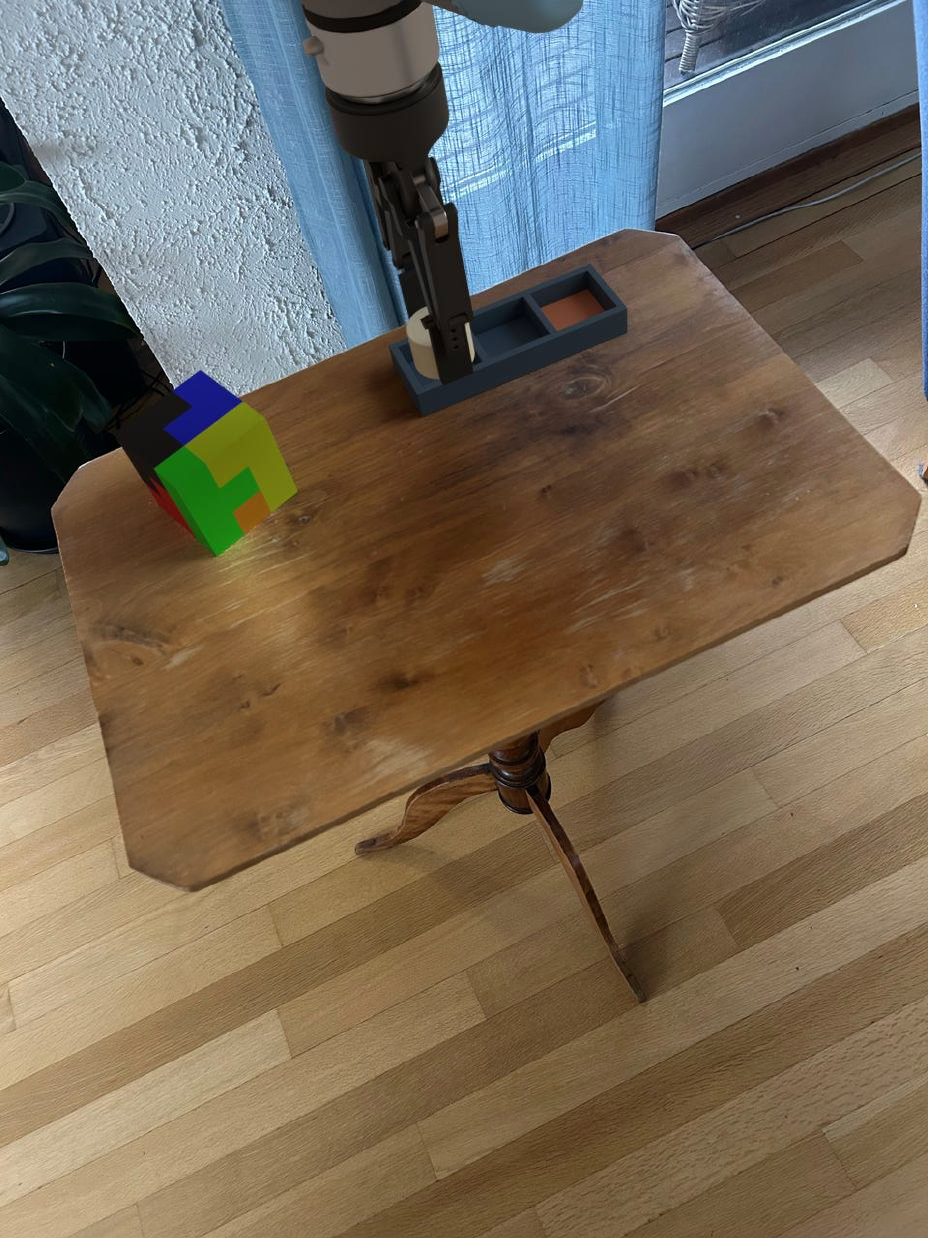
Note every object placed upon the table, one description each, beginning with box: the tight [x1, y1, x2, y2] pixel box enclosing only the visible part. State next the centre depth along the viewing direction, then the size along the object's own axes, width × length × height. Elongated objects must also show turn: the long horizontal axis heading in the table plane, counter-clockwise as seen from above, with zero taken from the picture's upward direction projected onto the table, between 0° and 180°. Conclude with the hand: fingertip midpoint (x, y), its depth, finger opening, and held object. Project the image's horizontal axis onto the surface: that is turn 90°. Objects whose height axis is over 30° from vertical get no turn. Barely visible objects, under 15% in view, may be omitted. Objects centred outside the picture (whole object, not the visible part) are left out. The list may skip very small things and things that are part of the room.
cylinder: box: [405, 306, 474, 379], centre depth 80 cm, size 5×5×4 cm
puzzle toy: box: [112, 369, 299, 557], centre depth 92 cm, size 10×10×10 cm
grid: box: [388, 263, 629, 418], centre depth 100 cm, size 8×23×3 cm, turn 113°
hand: (443, 354), depth 81 cm, fingers closed on cylinder, 5 cm apart
